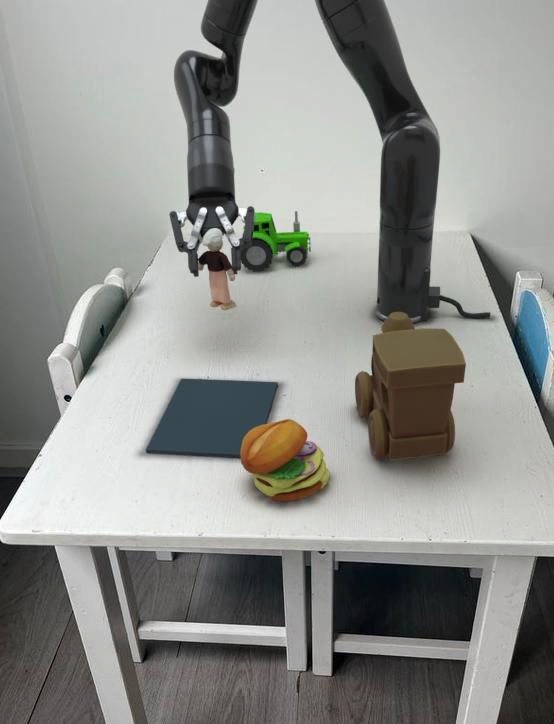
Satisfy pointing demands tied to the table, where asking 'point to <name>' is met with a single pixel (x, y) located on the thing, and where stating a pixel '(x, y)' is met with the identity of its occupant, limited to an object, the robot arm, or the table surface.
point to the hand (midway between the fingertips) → (215, 273)
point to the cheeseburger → (283, 461)
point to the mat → (212, 417)
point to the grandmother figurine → (217, 269)
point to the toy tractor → (274, 244)
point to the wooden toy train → (410, 390)
